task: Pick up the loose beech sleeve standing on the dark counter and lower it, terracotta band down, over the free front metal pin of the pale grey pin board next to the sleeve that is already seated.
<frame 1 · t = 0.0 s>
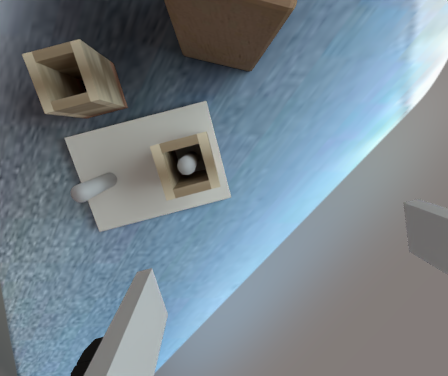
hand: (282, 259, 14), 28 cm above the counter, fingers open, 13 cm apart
wooden block: (224, 26, 37), on the counter
sleeve: (100, 91, 38), on the counter
pin board: (153, 167, 40), on the counter
sleeve seated: (191, 158, 38), point 2 cm above the counter, touching pin board
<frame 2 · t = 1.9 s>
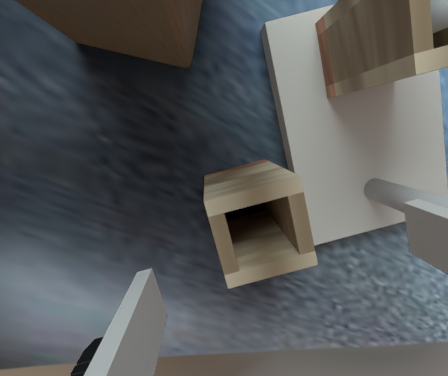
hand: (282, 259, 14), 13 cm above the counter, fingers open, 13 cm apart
sleeve: (241, 196, 27), on the counter
pin board: (353, 125, 26), on the counter
sleeve seated: (356, 53, 23), point 2 cm above the counter, touching pin board
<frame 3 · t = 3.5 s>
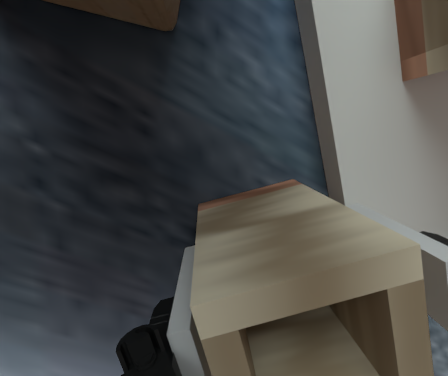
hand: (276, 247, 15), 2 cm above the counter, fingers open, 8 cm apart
sleeve: (256, 236, 17), on the counter
pin board: (431, 126, 17), on the counter
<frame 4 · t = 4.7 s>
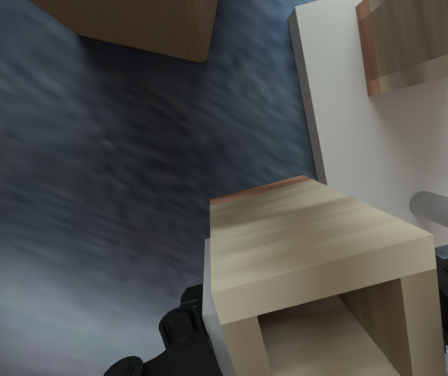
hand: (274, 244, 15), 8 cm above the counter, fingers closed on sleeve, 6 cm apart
sleeve: (266, 231, 17), point 6 cm above the counter, touching gripper
pin board: (396, 128, 22), on the counter
sleeve seated: (404, 42, 19), point 2 cm above the counter, touching pin board
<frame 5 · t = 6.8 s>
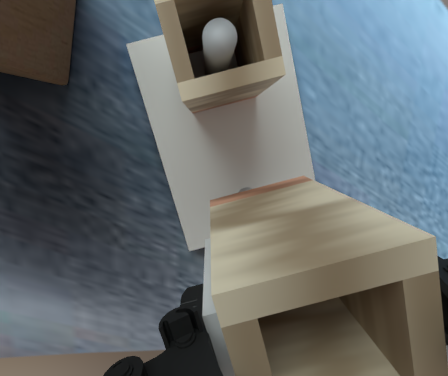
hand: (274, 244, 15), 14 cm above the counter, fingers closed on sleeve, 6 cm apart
wooden block: (20, 18, 25), on the counter
sleeve: (267, 231, 17), point 12 cm above the counter, touching gripper
pin board: (230, 137, 27), on the counter
sleeve seated: (216, 71, 24), point 2 cm above the counter, touching pin board
when the fingers open (5 cm above the counter, at t = 8.9 s): sleeve drops 1 cm, resting on pin board.
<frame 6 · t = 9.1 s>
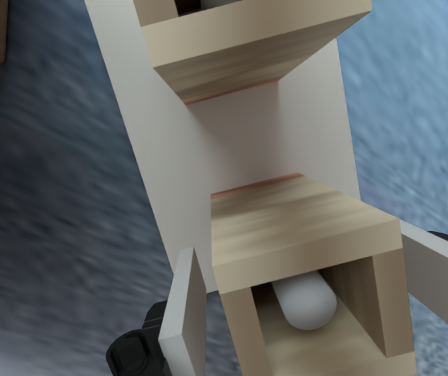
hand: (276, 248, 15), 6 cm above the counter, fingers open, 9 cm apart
sleeve: (263, 224, 19), point 2 cm above the counter, touching pin board
pin board: (239, 139, 19), on the counter
sleeve seated: (219, 42, 16), point 2 cm above the counter, touching pin board
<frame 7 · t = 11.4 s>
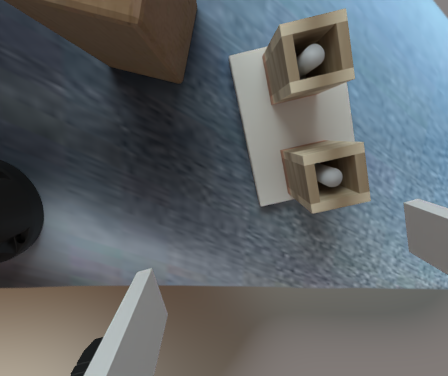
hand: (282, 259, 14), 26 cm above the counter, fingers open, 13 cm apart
wooden block: (152, 36, 35), on the counter
sleeve: (305, 167, 37), point 2 cm above the counter, touching pin board
pin board: (293, 123, 37), on the counter
sleeve seated: (289, 75, 34), point 2 cm above the counter, touching pin board
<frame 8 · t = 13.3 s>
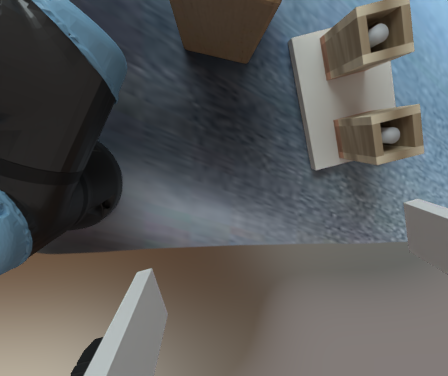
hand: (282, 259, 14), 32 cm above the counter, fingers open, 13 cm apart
wooden block: (222, 22, 40), on the counter
sleeve: (354, 134, 43), point 2 cm above the counter, touching pin board
pin board: (342, 97, 43), on the counter
sleeve seated: (342, 54, 40), point 2 cm above the counter, touching pin board
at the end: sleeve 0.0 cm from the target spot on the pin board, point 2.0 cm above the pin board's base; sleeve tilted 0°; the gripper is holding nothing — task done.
